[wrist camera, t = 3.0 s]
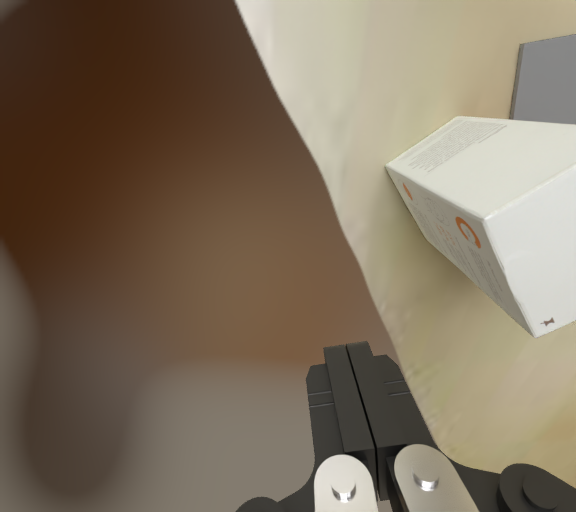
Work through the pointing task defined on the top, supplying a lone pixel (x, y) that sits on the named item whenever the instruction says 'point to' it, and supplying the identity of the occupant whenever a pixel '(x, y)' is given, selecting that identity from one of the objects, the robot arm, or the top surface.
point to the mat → (546, 81)
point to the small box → (500, 210)
